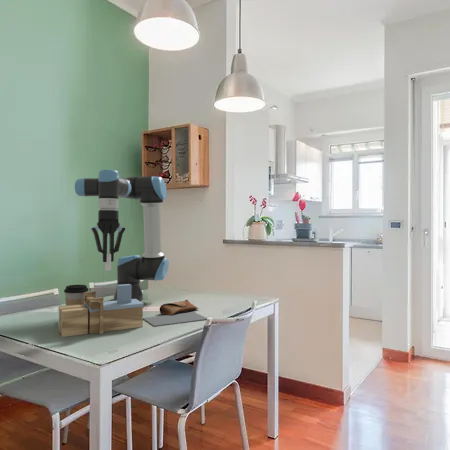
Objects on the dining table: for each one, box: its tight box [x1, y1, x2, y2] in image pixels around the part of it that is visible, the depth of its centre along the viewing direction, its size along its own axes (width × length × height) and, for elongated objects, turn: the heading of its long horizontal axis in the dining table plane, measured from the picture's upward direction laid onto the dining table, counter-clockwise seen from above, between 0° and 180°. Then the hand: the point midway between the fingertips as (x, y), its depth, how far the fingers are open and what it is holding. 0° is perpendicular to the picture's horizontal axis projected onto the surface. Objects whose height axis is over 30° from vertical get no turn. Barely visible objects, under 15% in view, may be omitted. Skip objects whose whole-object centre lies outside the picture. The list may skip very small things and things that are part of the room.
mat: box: [143, 311, 208, 327], centre depth 168 cm, size 14×24×1 cm, turn 119°
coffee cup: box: [63, 284, 90, 306], centre depth 160 cm, size 9×9×15 cm
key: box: [85, 295, 99, 310], centre depth 151 cm, size 16×2×2 cm, turn 29°
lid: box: [84, 284, 145, 312], centre depth 155 cm, size 11×21×9 cm, turn 119°
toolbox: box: [58, 291, 144, 338], centre depth 153 cm, size 15×30×13 cm, turn 119°
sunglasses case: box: [159, 299, 199, 315], centre depth 182 cm, size 18×7×7 cm
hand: (108, 270), depth 154 cm, fingers closed
